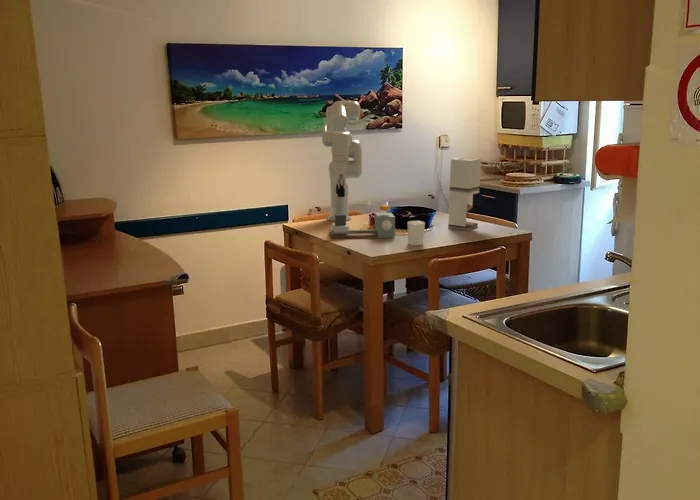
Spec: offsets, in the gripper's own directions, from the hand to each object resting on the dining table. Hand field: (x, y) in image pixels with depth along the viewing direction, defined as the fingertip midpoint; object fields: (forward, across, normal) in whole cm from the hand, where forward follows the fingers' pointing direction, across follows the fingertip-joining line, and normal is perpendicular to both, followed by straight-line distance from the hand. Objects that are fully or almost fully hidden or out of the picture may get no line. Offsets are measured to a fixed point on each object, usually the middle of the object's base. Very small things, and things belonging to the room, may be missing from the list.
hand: (340, 195), depth 313 cm
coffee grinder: (+20, -15, +64) cm, 69 cm away
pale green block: (+20, -1, +22) cm, 29 cm away
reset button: (+7, 0, +22) cm, 23 cm away
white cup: (+20, +18, +33) cm, 43 cm away
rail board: (+20, -1, +6) cm, 21 cm away
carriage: (+18, -1, 0) cm, 18 cm away
